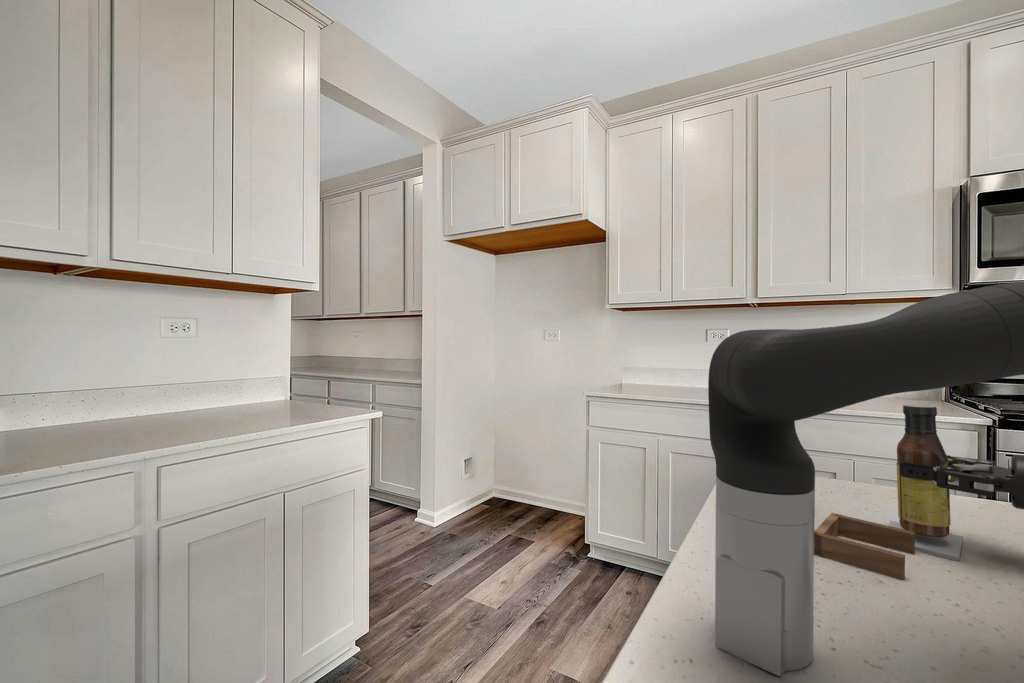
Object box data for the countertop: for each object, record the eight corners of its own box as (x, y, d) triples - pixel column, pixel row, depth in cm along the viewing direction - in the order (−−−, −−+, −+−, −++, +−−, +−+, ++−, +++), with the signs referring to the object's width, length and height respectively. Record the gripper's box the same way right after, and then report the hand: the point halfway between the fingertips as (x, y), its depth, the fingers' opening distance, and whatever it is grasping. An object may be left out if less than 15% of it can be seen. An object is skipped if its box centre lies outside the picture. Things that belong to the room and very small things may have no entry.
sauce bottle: (961, 541, 71) (960, 409, 70) (913, 538, 72) (912, 408, 72) (931, 524, 77) (931, 402, 77) (888, 521, 78) (887, 402, 78)
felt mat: (958, 561, 68) (958, 557, 68) (880, 541, 74) (880, 537, 74) (962, 540, 75) (962, 536, 75) (890, 524, 81) (890, 520, 81)
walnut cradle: (903, 580, 63) (903, 557, 63) (811, 553, 70) (812, 533, 70) (914, 551, 71) (915, 532, 71) (831, 530, 78) (831, 512, 78)
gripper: (1057, 451, 69) (908, 434, 81) (1067, 470, 59) (896, 448, 71) (1057, 502, 69) (908, 478, 81) (1067, 530, 59) (895, 498, 71)
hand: (903, 464), depth 76 cm, fingers closed on sauce bottle, 6 cm apart
